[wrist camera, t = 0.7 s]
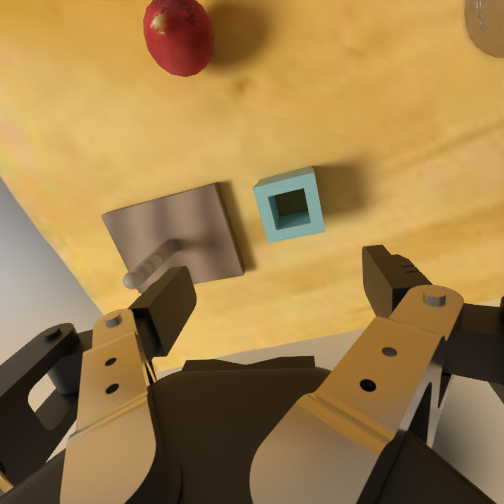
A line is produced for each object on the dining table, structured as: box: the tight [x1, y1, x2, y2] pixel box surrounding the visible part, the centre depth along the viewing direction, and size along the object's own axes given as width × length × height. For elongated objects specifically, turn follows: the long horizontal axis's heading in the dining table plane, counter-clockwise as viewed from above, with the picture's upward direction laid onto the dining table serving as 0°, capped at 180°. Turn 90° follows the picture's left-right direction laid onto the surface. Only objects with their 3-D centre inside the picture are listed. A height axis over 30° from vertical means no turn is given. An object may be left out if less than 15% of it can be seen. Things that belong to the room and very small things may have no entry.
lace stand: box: [101, 182, 245, 293], centre depth 31 cm, size 16×12×11 cm
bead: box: [253, 166, 325, 243], centre depth 29 cm, size 6×6×5 cm
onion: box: [143, 0, 214, 77], centre depth 23 cm, size 6×6×8 cm
